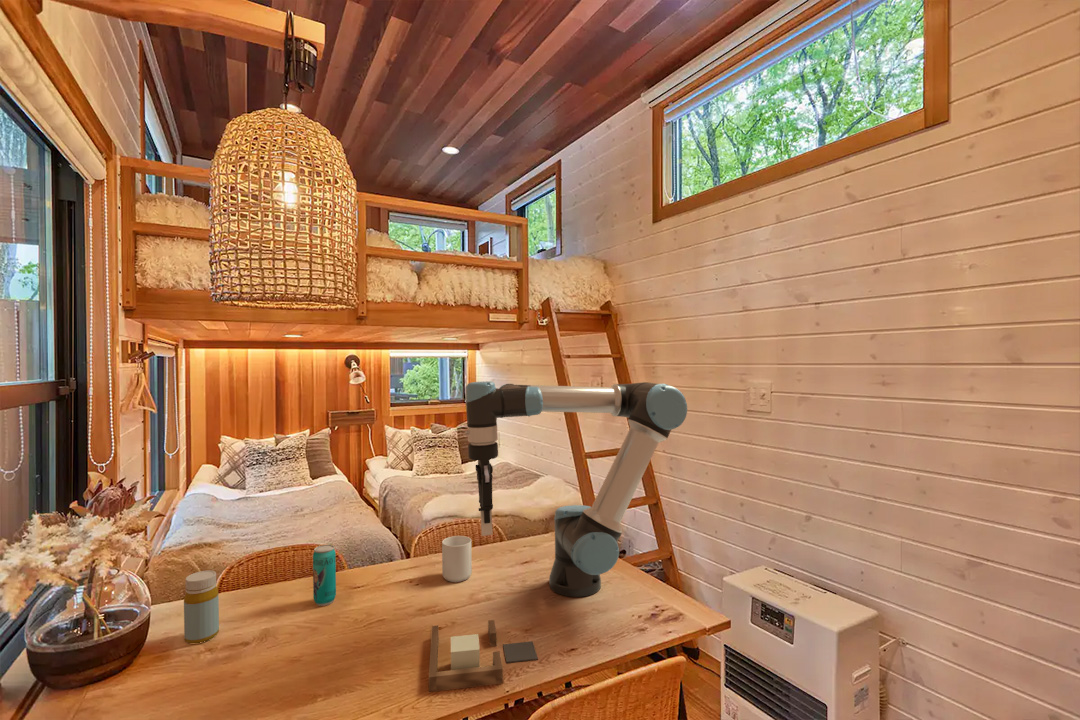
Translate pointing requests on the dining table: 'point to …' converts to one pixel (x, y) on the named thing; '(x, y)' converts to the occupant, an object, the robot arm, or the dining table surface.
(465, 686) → the channel
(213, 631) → the bottle
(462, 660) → the block
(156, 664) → the dining table surface
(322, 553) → the beverage can
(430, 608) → the dining table surface
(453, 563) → the mug
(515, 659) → the plate
